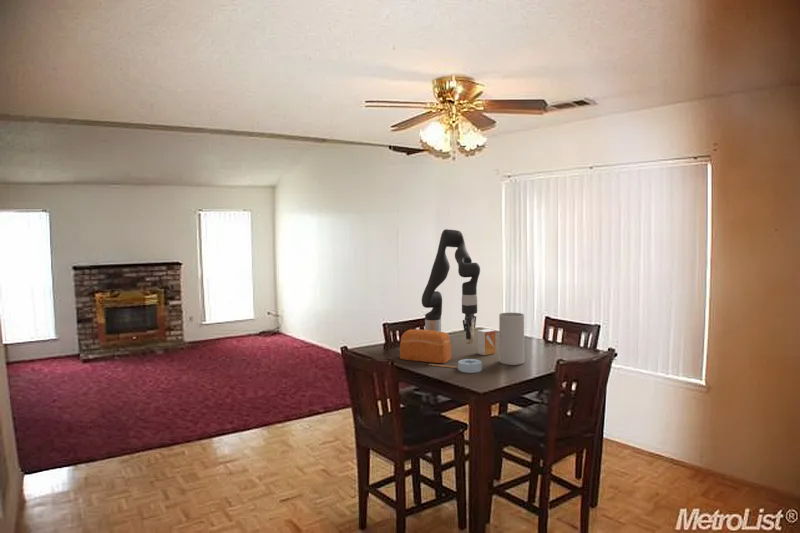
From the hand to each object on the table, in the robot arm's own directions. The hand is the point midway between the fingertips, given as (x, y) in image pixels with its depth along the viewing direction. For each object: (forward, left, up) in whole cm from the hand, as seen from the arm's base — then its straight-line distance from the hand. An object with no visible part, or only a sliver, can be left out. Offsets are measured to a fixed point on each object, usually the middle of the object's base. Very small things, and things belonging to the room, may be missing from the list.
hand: (469, 338), depth 269 cm
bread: (-29, +11, -16) cm, 35 cm away
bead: (0, 0, -16) cm, 16 cm away
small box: (-3, +36, -16) cm, 39 cm away
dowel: (0, 0, -3) cm, 3 cm away
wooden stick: (-14, 0, -16) cm, 21 cm away
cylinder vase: (+15, +22, -16) cm, 31 cm away
